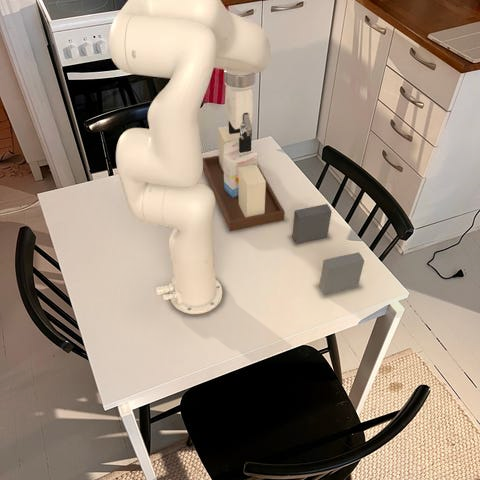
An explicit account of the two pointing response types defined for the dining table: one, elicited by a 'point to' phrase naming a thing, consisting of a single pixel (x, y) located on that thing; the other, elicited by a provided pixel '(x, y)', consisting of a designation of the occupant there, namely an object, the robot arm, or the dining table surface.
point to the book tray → (231, 204)
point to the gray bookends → (334, 269)
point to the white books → (245, 179)
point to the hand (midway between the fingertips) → (239, 142)
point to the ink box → (235, 165)
